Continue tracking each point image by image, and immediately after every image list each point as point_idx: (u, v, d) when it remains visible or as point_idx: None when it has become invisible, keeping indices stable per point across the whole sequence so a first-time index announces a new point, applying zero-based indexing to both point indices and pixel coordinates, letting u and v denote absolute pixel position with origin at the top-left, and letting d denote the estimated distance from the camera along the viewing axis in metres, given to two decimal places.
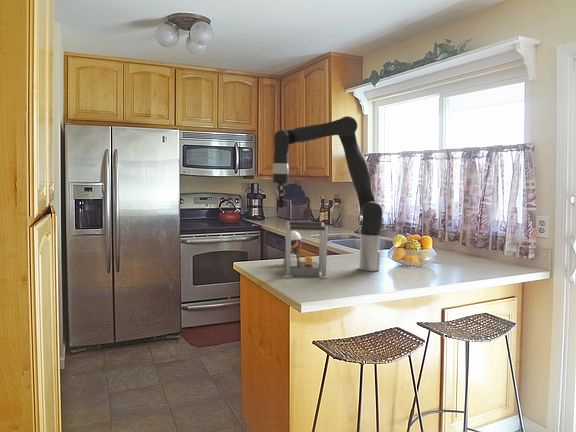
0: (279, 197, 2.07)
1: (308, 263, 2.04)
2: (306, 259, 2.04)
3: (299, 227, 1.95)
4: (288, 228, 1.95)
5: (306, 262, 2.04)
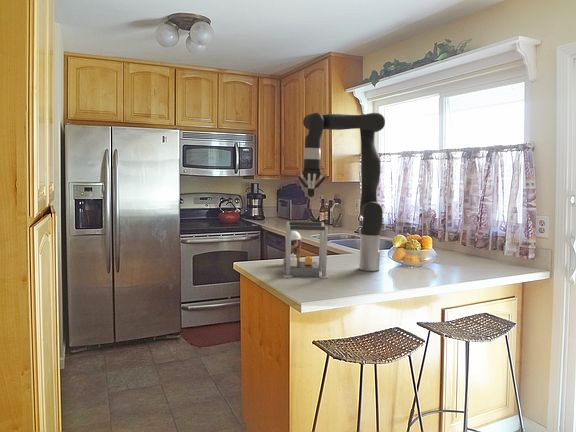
0: None
1: (308, 263, 2.04)
2: (306, 259, 2.04)
3: (299, 227, 1.95)
4: (288, 228, 1.95)
5: (306, 262, 2.04)
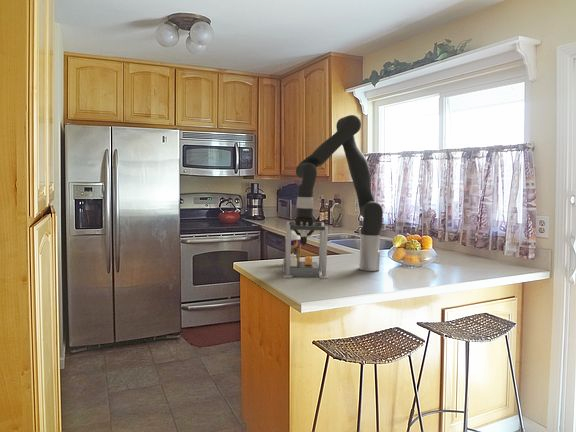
0: None
1: (308, 263, 2.04)
2: (306, 259, 2.04)
3: (299, 227, 1.95)
4: (288, 228, 1.95)
5: (306, 262, 2.04)
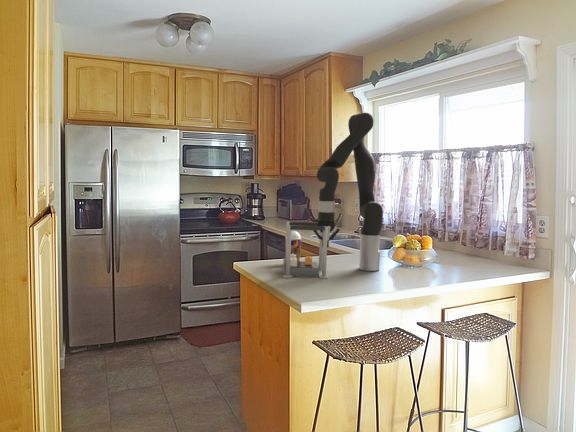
0: None
1: (308, 263, 2.04)
2: (306, 259, 2.04)
3: (299, 227, 1.95)
4: (288, 228, 1.95)
5: (306, 262, 2.04)
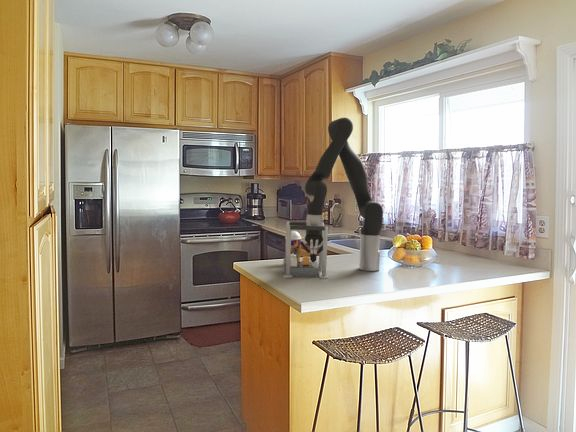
0: None
1: (305, 263, 2.04)
2: (303, 259, 2.04)
3: (299, 227, 1.95)
4: (288, 228, 1.95)
5: (303, 262, 2.04)
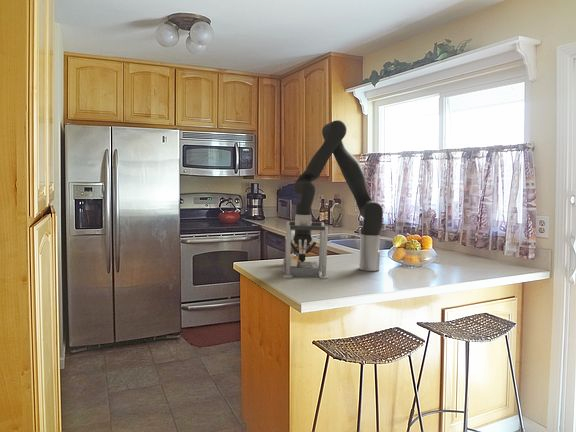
0: (308, 252, 2.05)
1: None
2: None
3: (299, 227, 1.95)
4: (288, 228, 1.95)
5: None
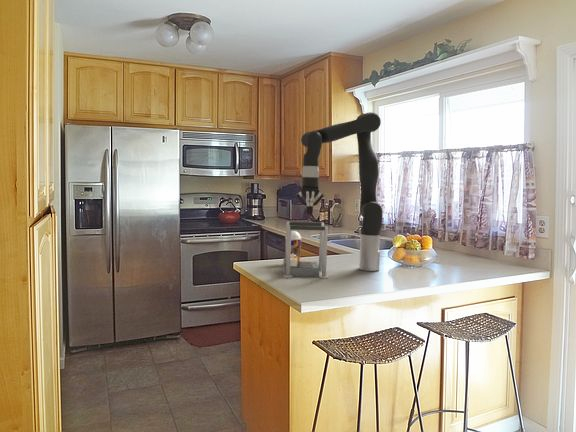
0: (316, 204, 2.03)
1: None
2: None
3: (299, 227, 1.95)
4: (288, 228, 1.95)
5: None
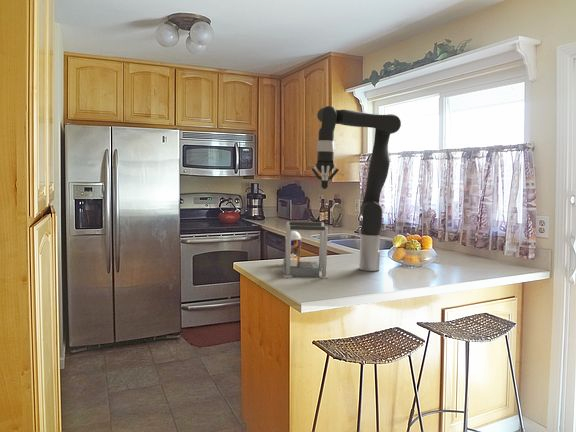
0: None
1: None
2: None
3: (299, 227, 1.95)
4: (288, 228, 1.95)
5: None
